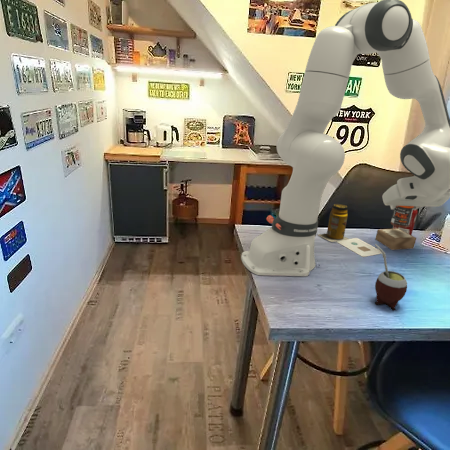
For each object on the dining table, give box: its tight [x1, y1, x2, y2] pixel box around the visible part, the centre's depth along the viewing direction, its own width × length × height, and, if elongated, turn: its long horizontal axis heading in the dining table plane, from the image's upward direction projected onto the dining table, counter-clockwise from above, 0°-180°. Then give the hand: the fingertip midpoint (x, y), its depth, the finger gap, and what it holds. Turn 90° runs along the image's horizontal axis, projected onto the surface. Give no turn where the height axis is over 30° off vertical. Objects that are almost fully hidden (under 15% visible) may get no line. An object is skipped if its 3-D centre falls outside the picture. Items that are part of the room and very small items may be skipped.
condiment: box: [318, 203, 350, 243], centre depth 126 cm, size 7×8×12 cm
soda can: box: [392, 209, 418, 236], centre depth 133 cm, size 7×7×12 cm
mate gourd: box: [374, 243, 408, 312], centre depth 86 cm, size 8×8×15 cm
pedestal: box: [374, 228, 417, 251], centre depth 125 cm, size 9×9×4 cm
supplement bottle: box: [390, 206, 414, 228], centre depth 122 cm, size 6×6×11 cm
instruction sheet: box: [335, 237, 386, 258], centre depth 121 cm, size 10×13×1 cm
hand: (402, 208), depth 122 cm, fingers closed on supplement bottle, 6 cm apart
